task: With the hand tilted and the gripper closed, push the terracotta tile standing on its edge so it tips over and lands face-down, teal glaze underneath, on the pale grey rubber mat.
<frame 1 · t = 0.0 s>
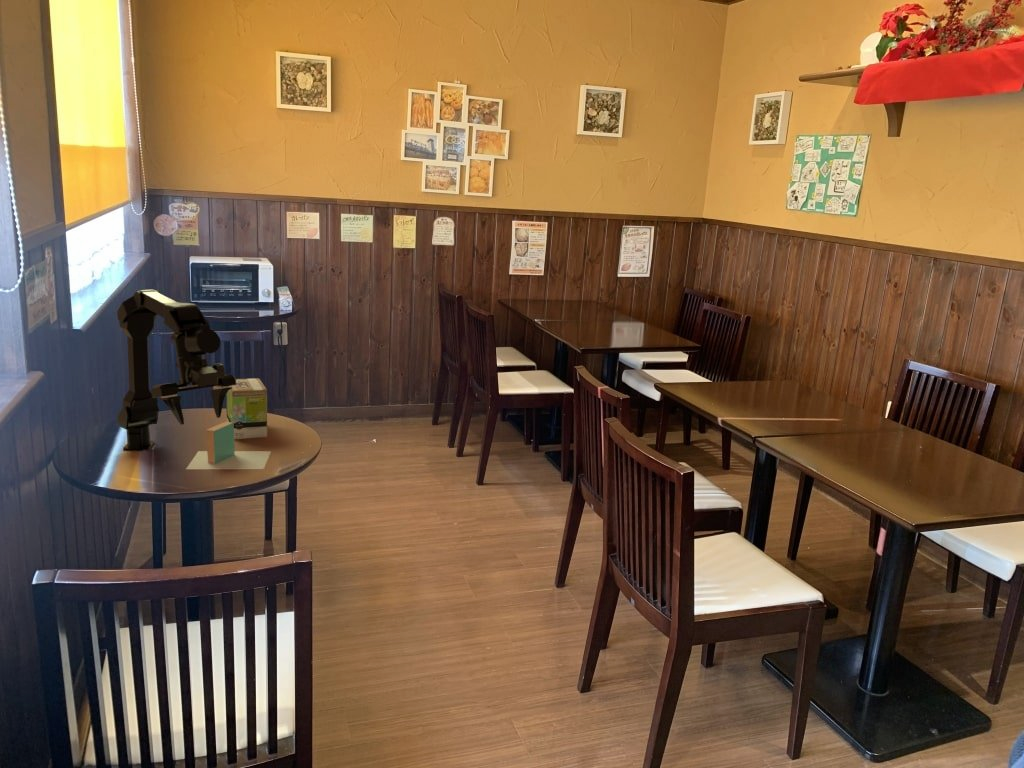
hand: (200, 421, 186), 15 cm above the table, tool pointing down, fingers open, 9 cm apart
tea box: (246, 432, 229), on the table
tile: (221, 458, 205), resting on mat
mat: (230, 461, 204), on the table
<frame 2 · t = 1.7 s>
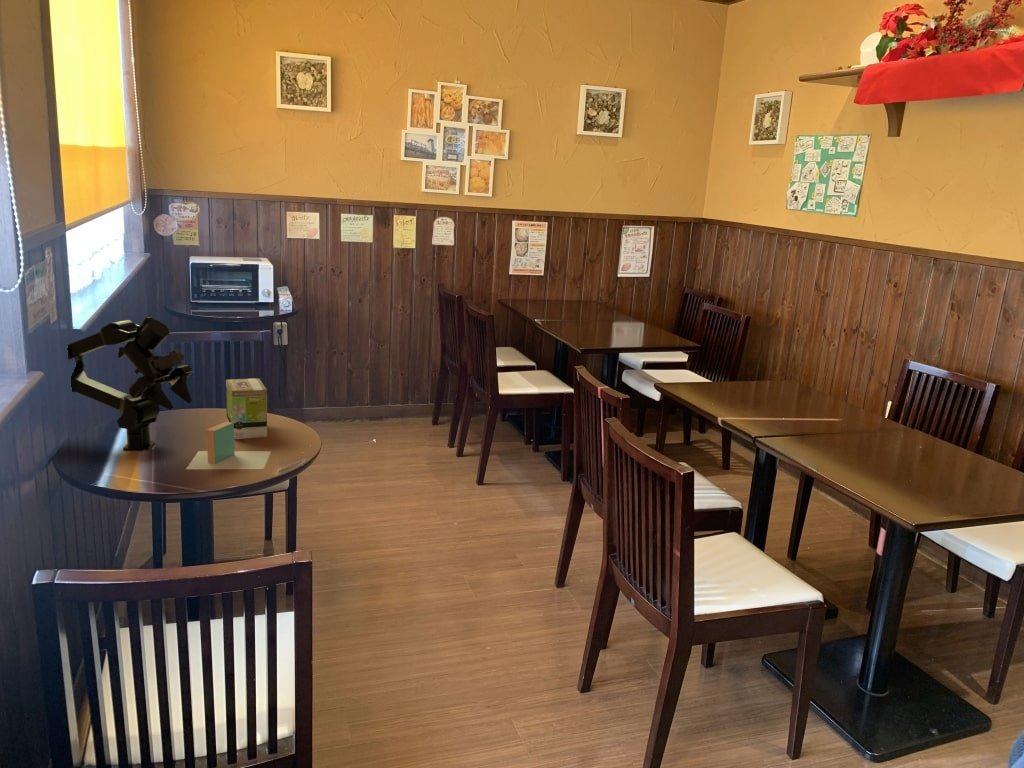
hand: (181, 405, 204), 14 cm above the table, tool tilted 45°, fingers open, 7 cm apart
nothing on the table moved.
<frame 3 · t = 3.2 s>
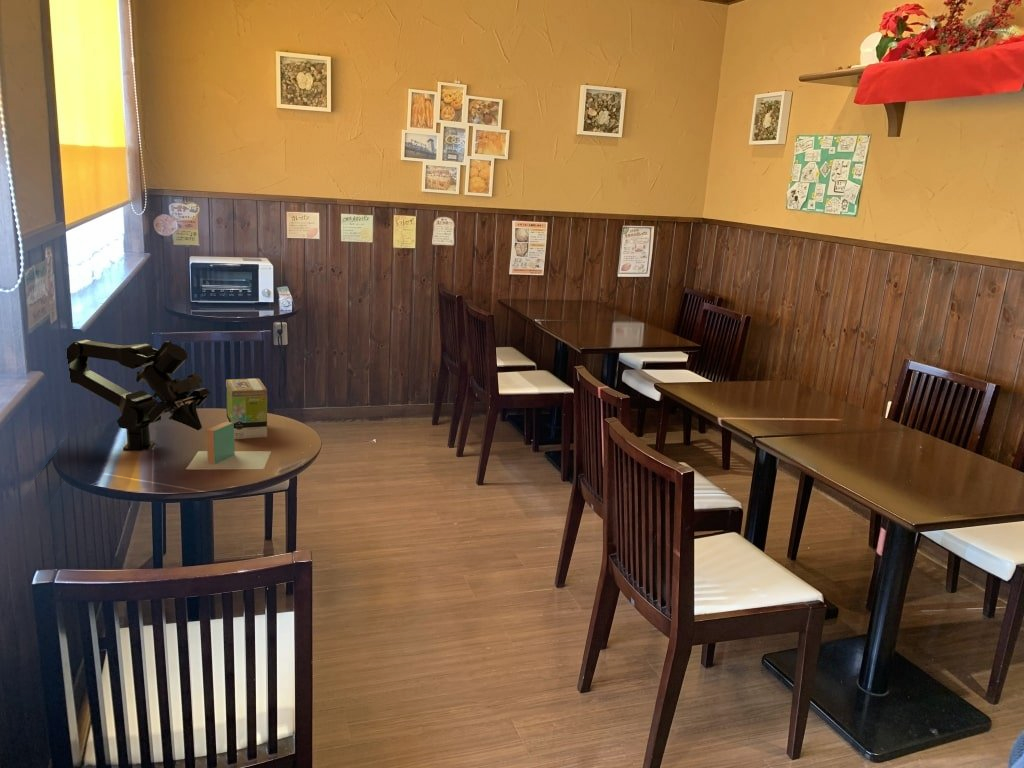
hand: (200, 429, 205), 8 cm above the table, tool tilted 45°, fingers closed
nothing on the table moved.
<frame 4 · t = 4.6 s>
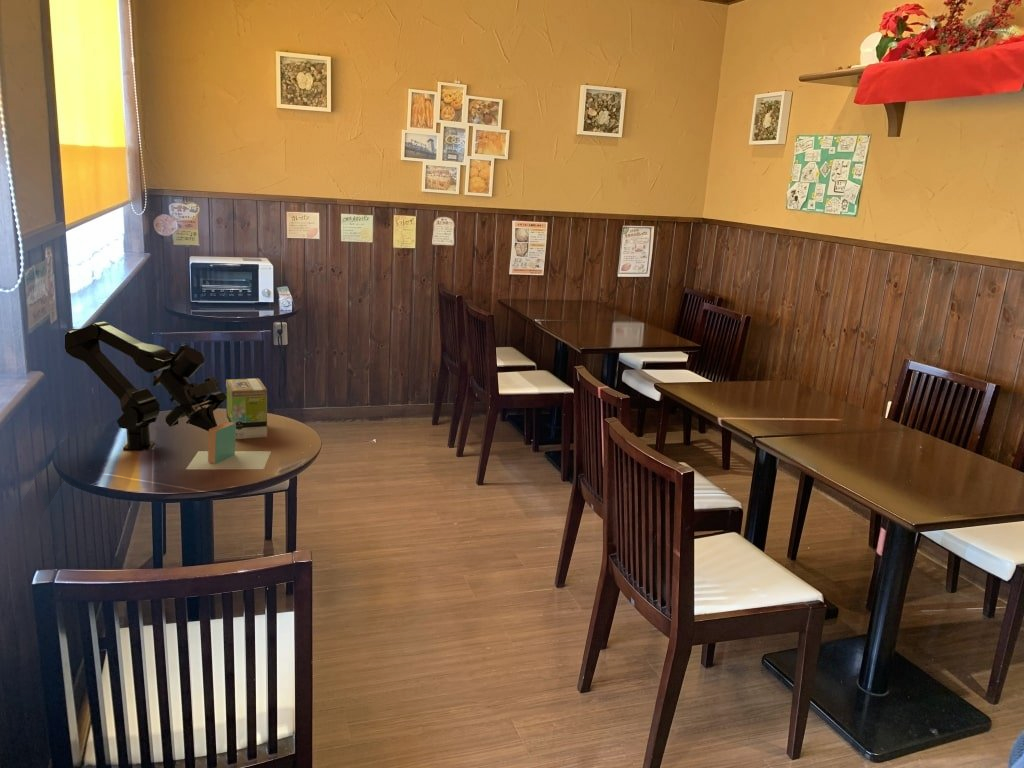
hand: (217, 433, 203), 7 cm above the table, tool tilted 45°, fingers closed
tile: (221, 458, 205), resting on mat, touching gripper
everything else where it was.
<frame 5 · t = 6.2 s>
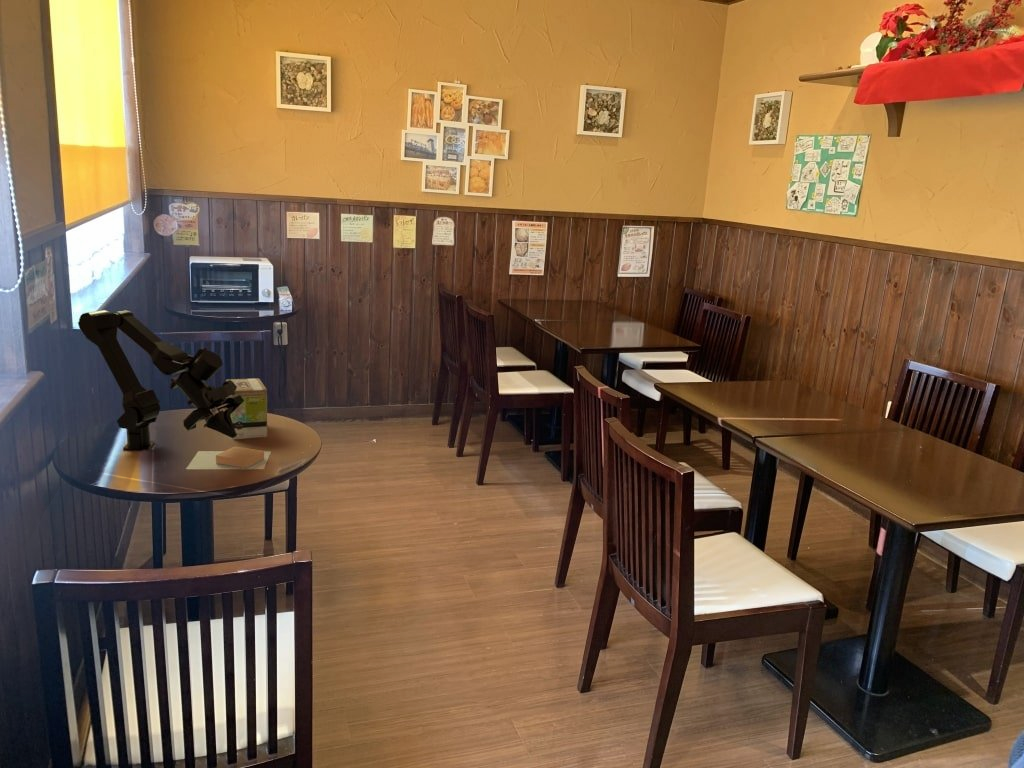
hand: (235, 436, 202), 7 cm above the table, tool tilted 45°, fingers closed
tile: (225, 455, 204), point 2 cm above the table, tilted 90°, touching mat
everything else where it was.
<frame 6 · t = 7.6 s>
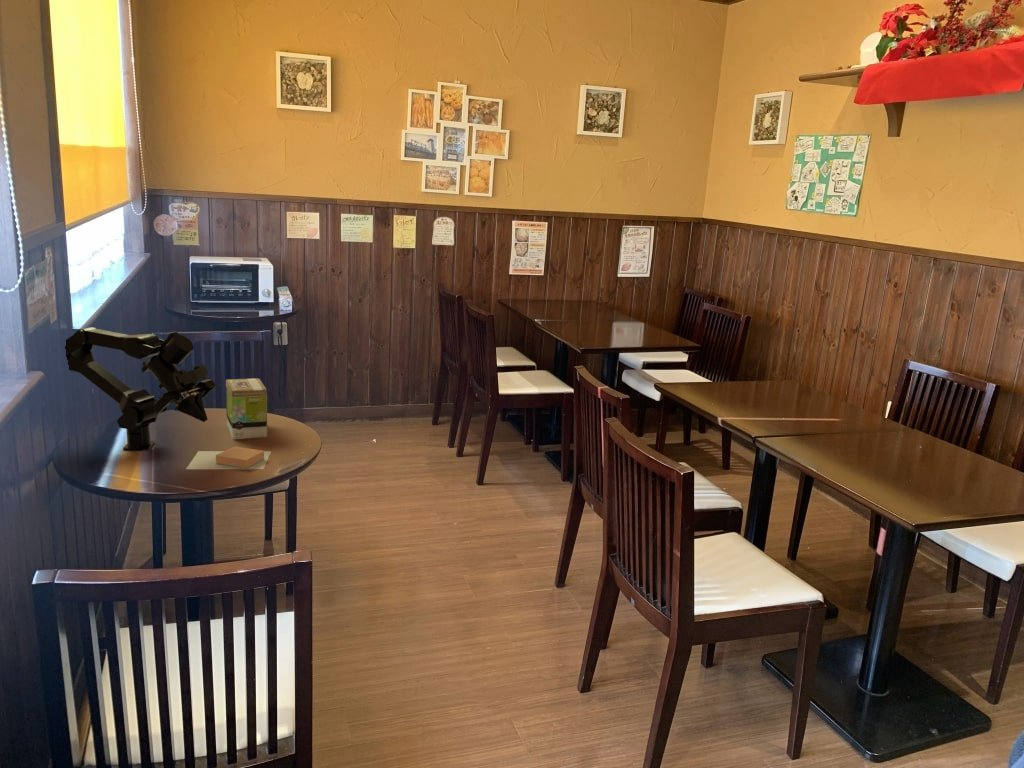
hand: (205, 420, 203), 10 cm above the table, tool tilted 45°, fingers closed
nothing on the table moved.
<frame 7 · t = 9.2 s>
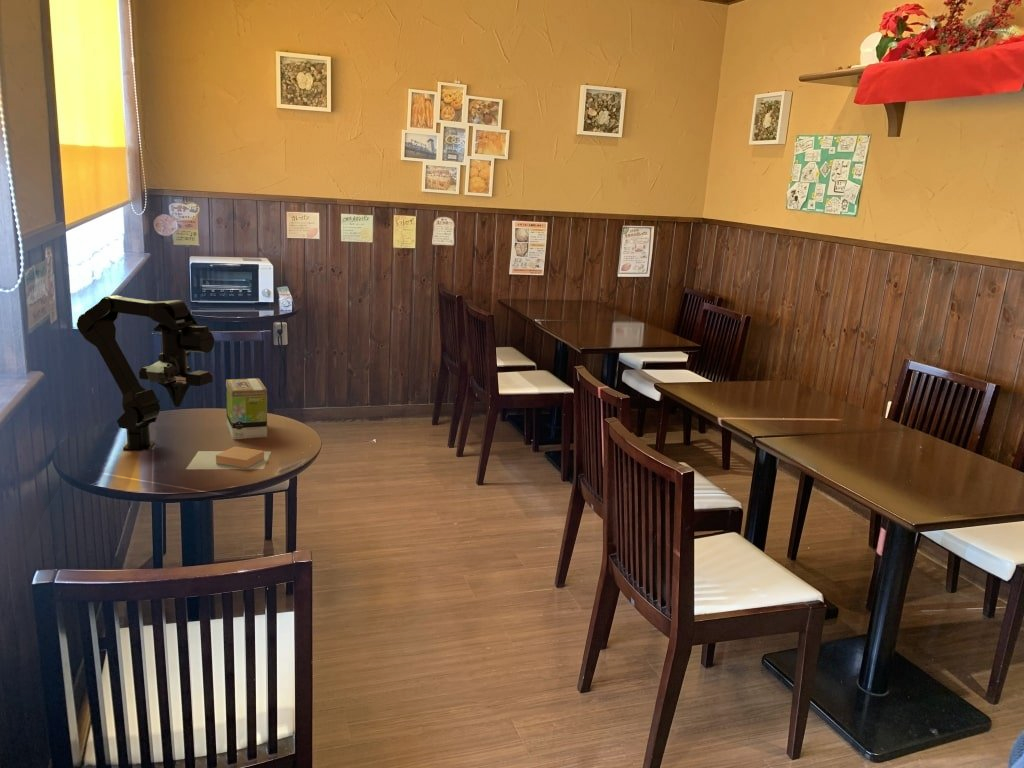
hand: (177, 406, 205), 13 cm above the table, tool pointing down, fingers closed
nothing on the table moved.
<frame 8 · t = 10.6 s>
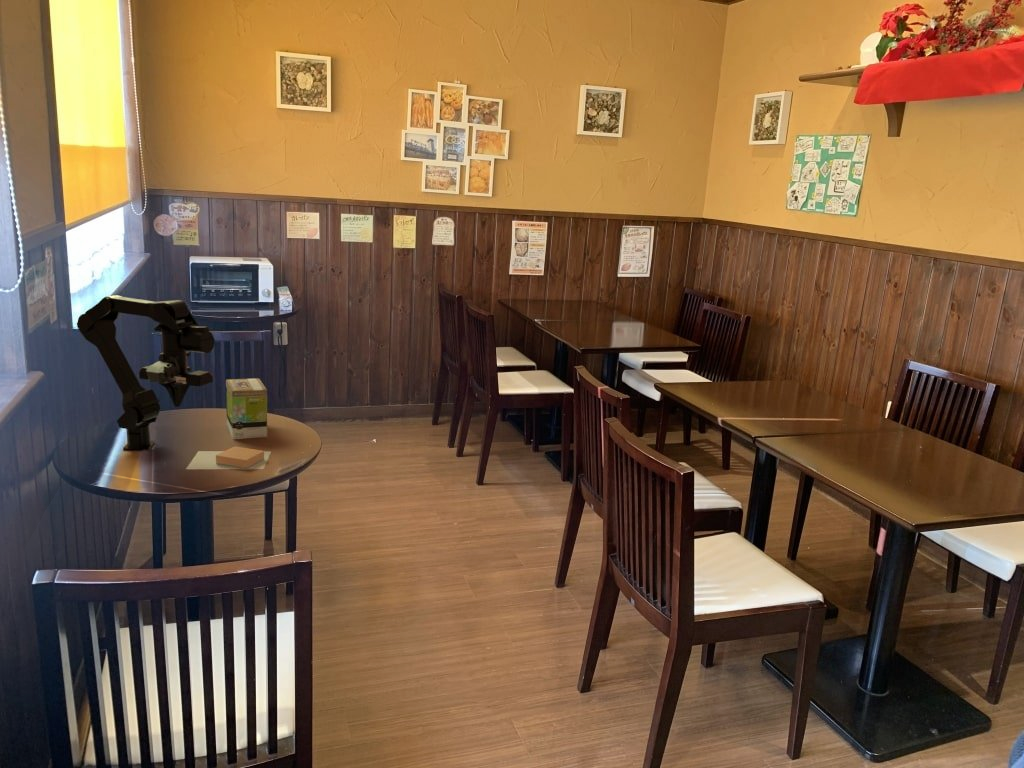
hand: (177, 406, 205), 13 cm above the table, tool pointing down, fingers closed
nothing on the table moved.
at the end: tile tilted 90°; tile inside the target area on the mat (1.3 cm from its centre), point 1.6 cm above the mat's base; tile touching mat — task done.
